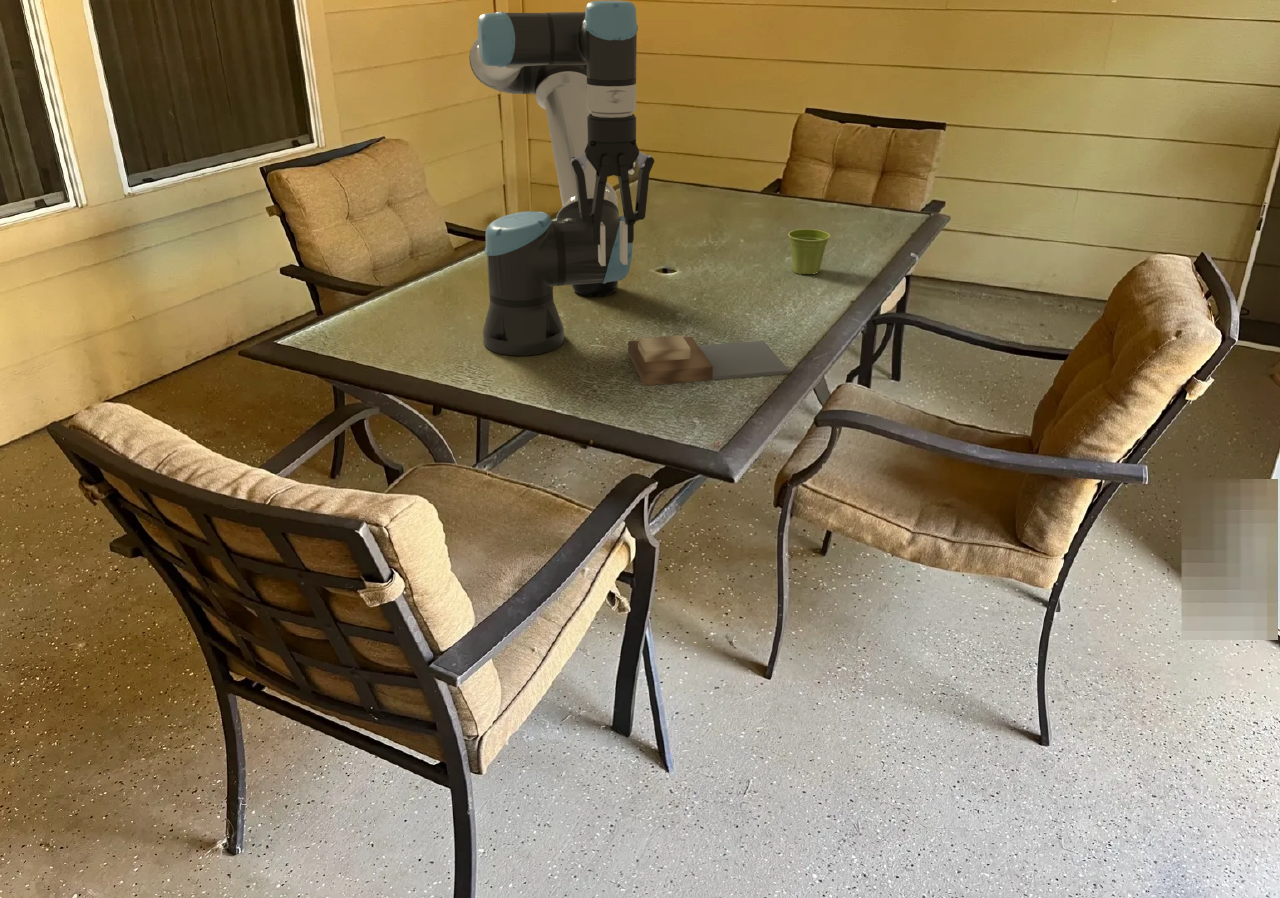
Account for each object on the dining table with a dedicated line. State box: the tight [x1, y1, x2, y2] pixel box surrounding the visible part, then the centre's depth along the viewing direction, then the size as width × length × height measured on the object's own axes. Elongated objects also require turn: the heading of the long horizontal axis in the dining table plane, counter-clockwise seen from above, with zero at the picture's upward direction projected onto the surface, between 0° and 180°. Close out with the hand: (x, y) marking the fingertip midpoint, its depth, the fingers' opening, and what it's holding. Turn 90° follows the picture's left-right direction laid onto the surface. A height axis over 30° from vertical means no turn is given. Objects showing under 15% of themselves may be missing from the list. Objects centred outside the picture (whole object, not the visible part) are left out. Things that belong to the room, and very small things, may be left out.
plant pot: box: [787, 228, 831, 275], centre depth 208 cm, size 9×9×9 cm
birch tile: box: [637, 335, 690, 362], centre depth 160 cm, size 8×6×2 cm
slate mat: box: [698, 340, 790, 381], centre depth 164 cm, size 14×14×1 cm
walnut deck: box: [627, 336, 713, 386], centre depth 161 cm, size 12×14×2 cm
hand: (612, 262), depth 150 cm, fingers open, 3 cm apart
